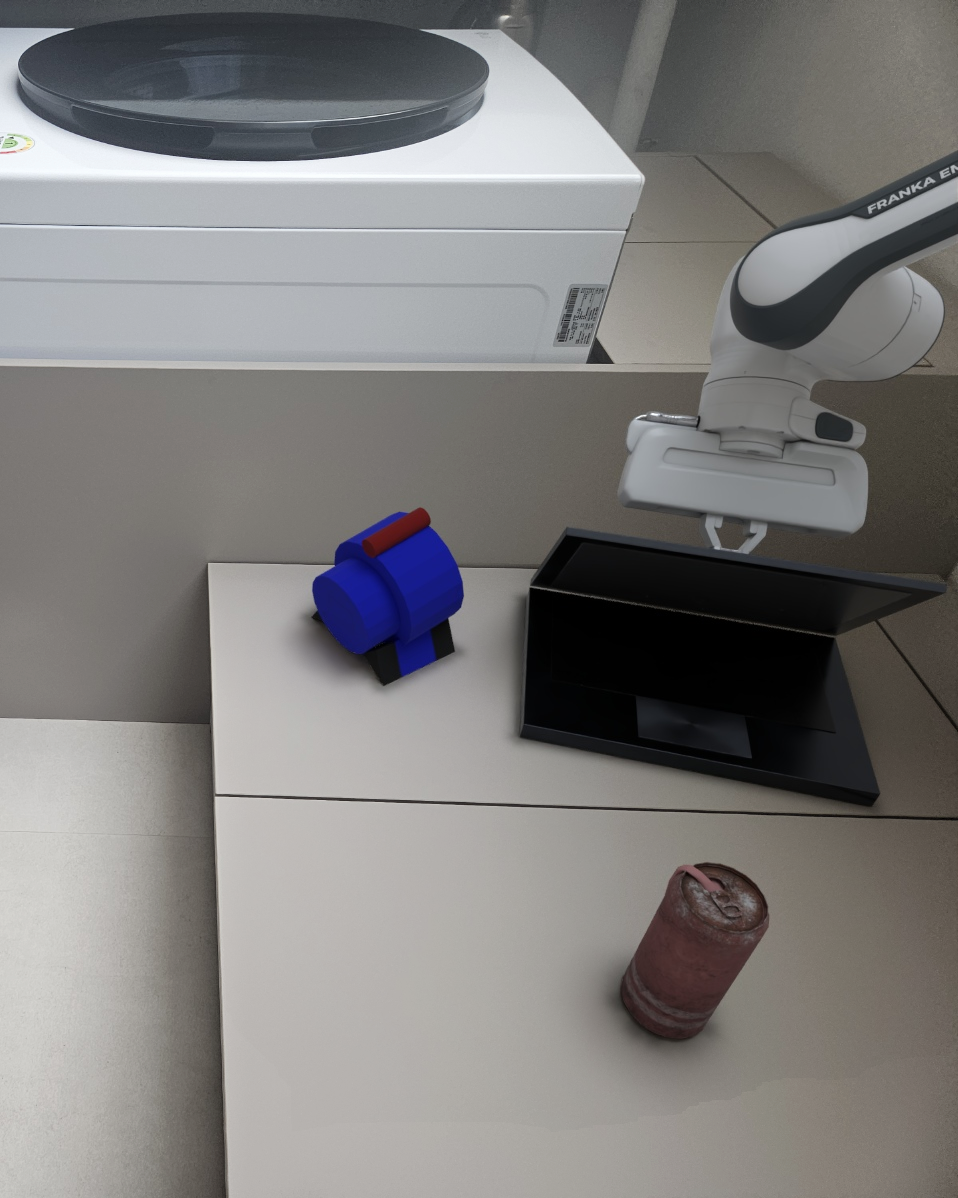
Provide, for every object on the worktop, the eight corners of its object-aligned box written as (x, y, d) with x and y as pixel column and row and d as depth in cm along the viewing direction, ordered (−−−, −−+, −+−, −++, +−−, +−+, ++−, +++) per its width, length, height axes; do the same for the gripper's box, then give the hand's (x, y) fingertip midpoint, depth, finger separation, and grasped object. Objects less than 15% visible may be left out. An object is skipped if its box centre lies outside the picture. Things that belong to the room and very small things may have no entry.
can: (638, 948, 81) (695, 839, 72) (719, 1003, 78) (789, 895, 69) (600, 1000, 78) (655, 892, 69) (683, 1059, 75) (751, 953, 66)
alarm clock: (459, 649, 108) (486, 533, 98) (367, 693, 103) (386, 576, 93) (382, 585, 116) (400, 472, 106) (293, 624, 111) (304, 509, 101)
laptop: (872, 807, 91) (881, 793, 90) (519, 737, 98) (523, 723, 97) (828, 650, 107) (836, 636, 106) (525, 599, 114) (529, 586, 112)
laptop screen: (946, 594, 85) (947, 583, 86) (565, 535, 92) (566, 526, 92) (835, 637, 106) (836, 628, 106) (529, 586, 112) (530, 578, 113)
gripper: (638, 398, 95) (612, 545, 94) (887, 429, 90) (862, 584, 90) (623, 417, 101) (598, 555, 101) (855, 447, 97) (832, 592, 96)
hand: (725, 569), depth 95 cm, fingers closed, pressing on laptop screen
